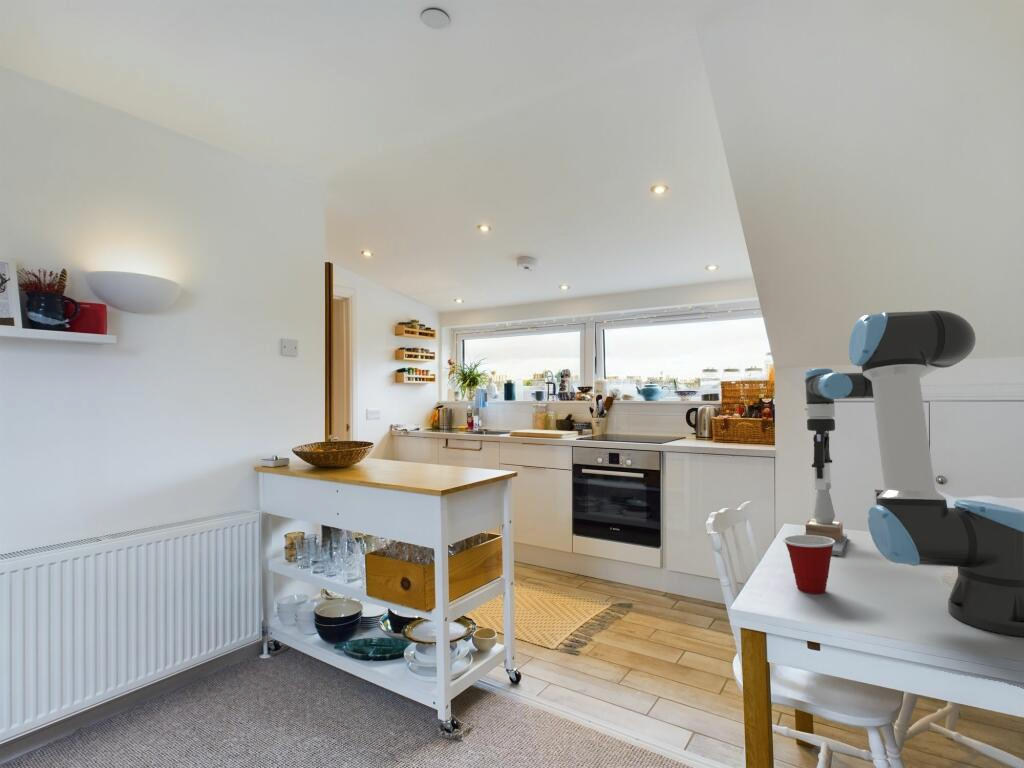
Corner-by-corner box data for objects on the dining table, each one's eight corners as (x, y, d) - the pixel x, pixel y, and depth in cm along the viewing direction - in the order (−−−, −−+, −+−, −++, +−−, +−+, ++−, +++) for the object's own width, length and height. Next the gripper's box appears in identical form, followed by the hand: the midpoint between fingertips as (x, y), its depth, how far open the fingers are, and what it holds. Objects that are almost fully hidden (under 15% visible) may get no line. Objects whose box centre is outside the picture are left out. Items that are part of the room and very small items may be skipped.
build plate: (841, 556, 146) (841, 551, 146) (797, 550, 153) (797, 545, 153) (847, 538, 164) (847, 533, 164) (807, 533, 170) (807, 529, 170)
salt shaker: (829, 520, 164) (828, 479, 164) (838, 525, 158) (837, 482, 159) (809, 520, 164) (808, 479, 165) (818, 525, 159) (817, 482, 159)
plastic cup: (792, 578, 130) (791, 529, 130) (842, 588, 122) (841, 537, 123) (777, 589, 122) (775, 538, 123) (829, 602, 115) (827, 547, 115)
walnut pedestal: (840, 542, 155) (839, 527, 155) (806, 537, 160) (805, 523, 160) (842, 535, 162) (842, 521, 162) (809, 531, 168) (809, 518, 168)
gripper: (812, 416, 174) (814, 480, 174) (801, 419, 154) (803, 491, 154) (838, 416, 170) (840, 482, 169) (830, 419, 150) (833, 493, 149)
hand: (823, 486), depth 161 cm, fingers open, 13 cm apart
